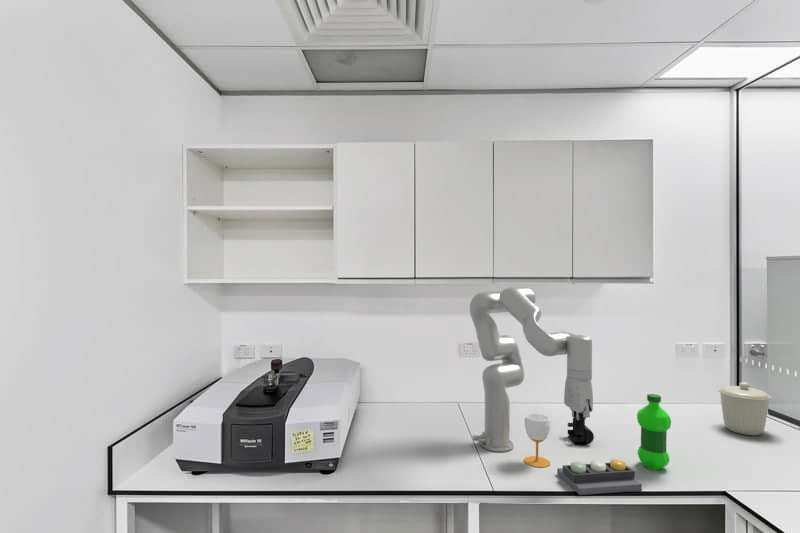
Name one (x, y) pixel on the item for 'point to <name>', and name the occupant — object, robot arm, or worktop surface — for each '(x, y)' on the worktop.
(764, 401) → the canister
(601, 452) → the worktop surface
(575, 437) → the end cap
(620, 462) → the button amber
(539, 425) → the cup
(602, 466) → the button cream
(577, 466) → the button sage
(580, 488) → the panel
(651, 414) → the plastic bottle
